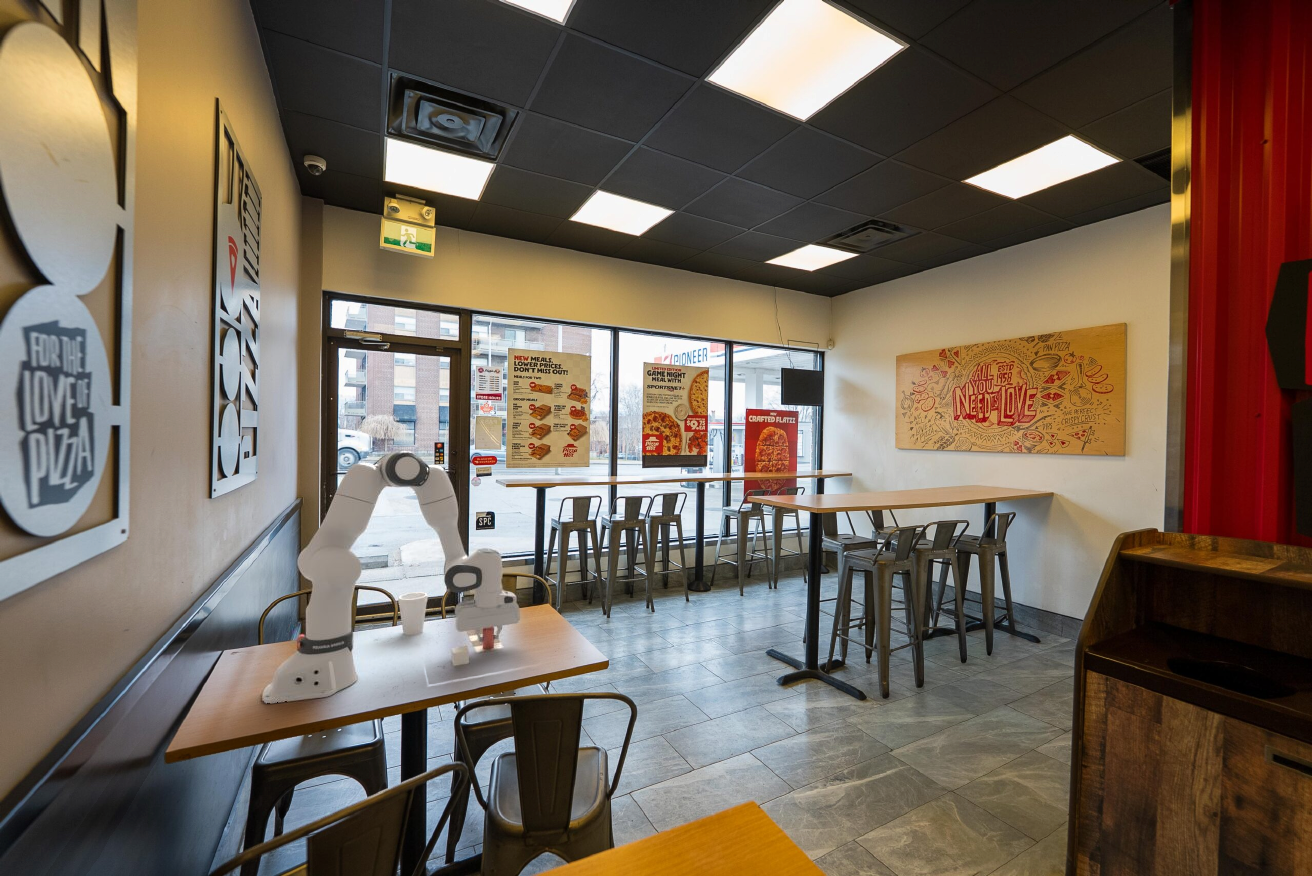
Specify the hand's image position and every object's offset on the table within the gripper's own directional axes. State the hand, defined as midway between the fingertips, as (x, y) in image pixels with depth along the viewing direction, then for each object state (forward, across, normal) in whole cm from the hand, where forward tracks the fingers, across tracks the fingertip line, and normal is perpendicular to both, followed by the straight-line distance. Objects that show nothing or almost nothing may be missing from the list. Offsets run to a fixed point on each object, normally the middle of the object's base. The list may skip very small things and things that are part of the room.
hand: (488, 640), depth 181 cm
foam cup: (+3, -21, +29) cm, 36 cm away
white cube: (+3, -10, -8) cm, 13 cm away
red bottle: (+2, 0, 0) cm, 2 cm away
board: (+3, 0, +11) cm, 11 cm away
